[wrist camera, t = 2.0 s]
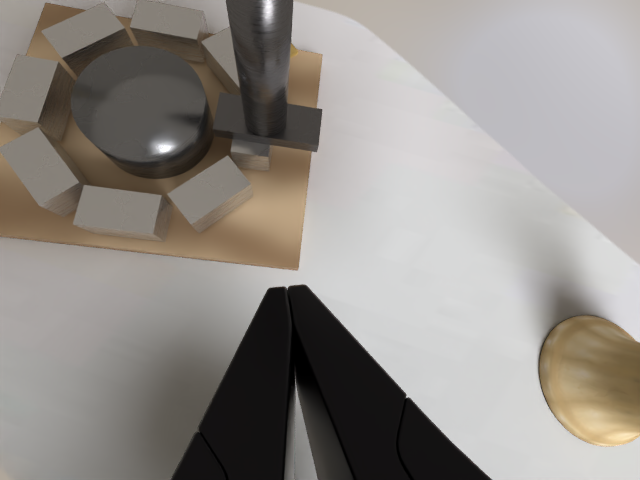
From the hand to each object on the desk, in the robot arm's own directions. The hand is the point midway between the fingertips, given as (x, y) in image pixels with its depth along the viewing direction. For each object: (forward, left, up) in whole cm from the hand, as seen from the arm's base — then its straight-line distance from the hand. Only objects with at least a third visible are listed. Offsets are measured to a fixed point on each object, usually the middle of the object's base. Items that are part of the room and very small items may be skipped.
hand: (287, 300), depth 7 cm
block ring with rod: (+11, +8, -12) cm, 18 cm away
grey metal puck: (+11, +9, -13) cm, 19 cm away
